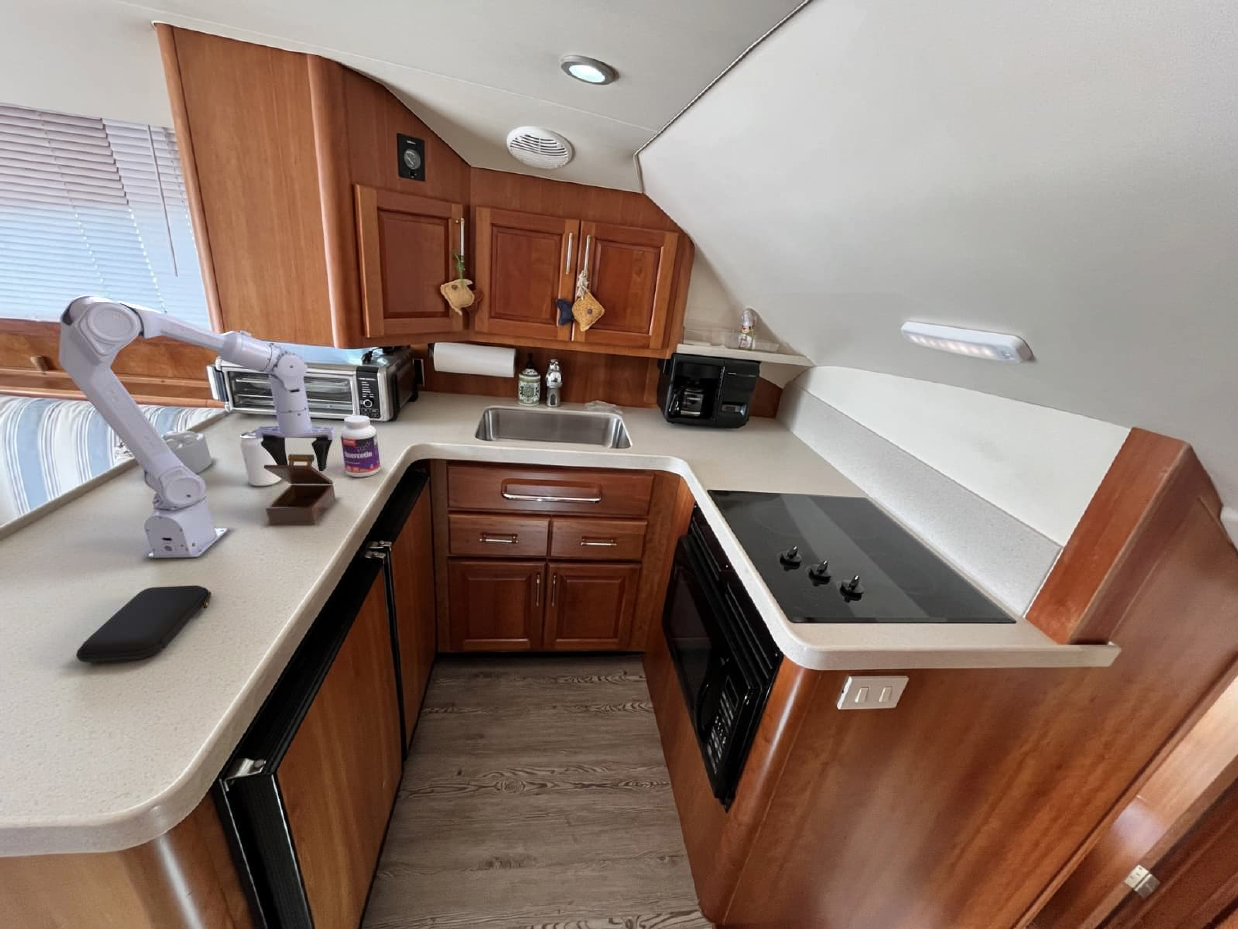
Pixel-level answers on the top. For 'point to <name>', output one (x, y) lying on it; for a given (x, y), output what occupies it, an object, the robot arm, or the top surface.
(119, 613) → the carrying case
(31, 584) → the top surface
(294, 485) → the keepsake box
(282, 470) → the lid
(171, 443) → the lumpy-topped squat cylinder
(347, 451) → the pill bottle
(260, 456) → the can
